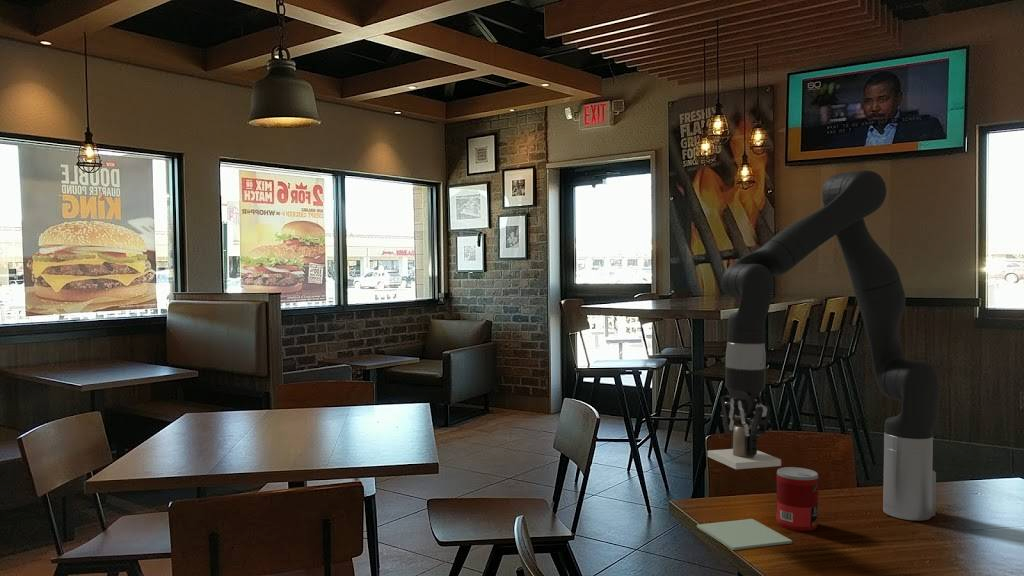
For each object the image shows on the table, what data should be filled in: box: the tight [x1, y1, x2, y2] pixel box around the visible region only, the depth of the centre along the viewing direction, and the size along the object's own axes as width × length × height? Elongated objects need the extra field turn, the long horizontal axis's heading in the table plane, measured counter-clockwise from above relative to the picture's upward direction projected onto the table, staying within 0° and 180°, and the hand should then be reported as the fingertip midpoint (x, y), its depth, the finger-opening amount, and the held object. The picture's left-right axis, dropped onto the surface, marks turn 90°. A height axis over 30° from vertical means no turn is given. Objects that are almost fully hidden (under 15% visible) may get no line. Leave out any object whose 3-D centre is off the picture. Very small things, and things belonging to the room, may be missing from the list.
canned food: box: [775, 466, 819, 532], centre depth 155 cm, size 8×8×11 cm
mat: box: [696, 518, 793, 551], centre depth 149 cm, size 13×13×1 cm
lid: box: [707, 425, 782, 470], centre depth 149 cm, size 10×10×7 cm
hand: (743, 451), depth 149 cm, fingers closed on lid, 4 cm apart
